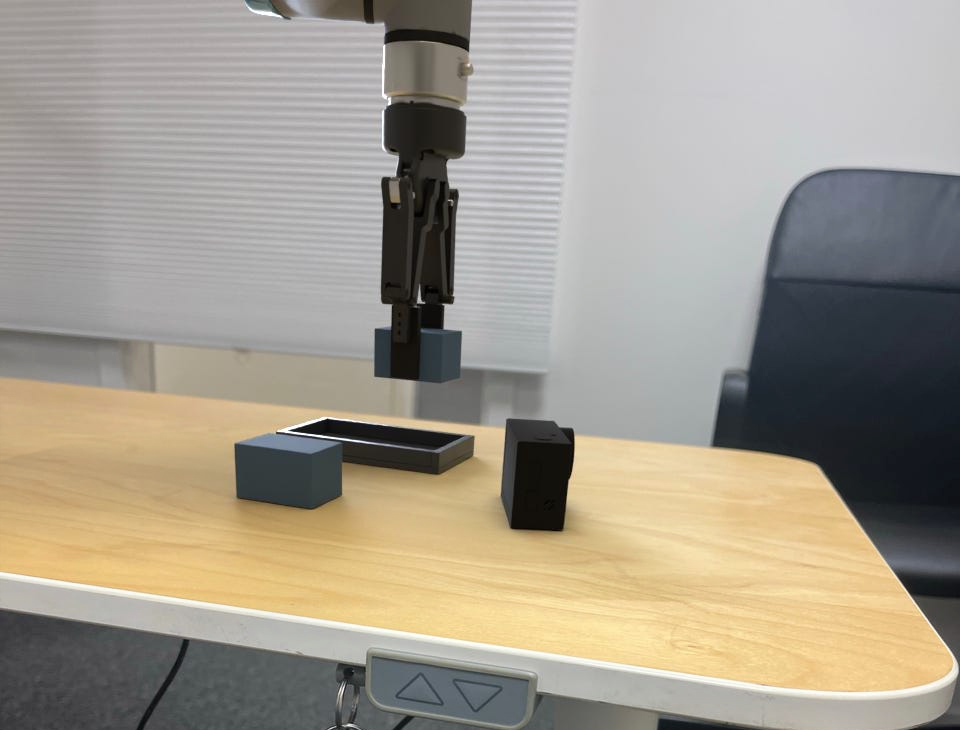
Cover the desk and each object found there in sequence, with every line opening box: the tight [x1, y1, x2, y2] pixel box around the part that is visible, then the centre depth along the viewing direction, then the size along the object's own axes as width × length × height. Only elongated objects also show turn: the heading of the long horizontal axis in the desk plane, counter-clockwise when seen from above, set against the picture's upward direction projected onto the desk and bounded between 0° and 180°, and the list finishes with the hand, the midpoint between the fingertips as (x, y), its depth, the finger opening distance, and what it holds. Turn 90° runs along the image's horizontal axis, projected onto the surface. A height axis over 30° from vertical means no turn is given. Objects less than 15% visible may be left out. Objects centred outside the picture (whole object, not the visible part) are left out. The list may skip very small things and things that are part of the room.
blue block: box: [373, 325, 463, 384], centre depth 90 cm, size 7×6×4 cm
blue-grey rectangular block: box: [233, 432, 343, 510], centre depth 77 cm, size 7×6×4 cm
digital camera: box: [500, 417, 576, 531], centre depth 76 cm, size 10×5×7 cm, turn 3°
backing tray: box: [275, 416, 476, 475], centre depth 95 cm, size 18×11×2 cm, turn 72°
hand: (416, 374), depth 91 cm, fingers closed on blue block, 5 cm apart
